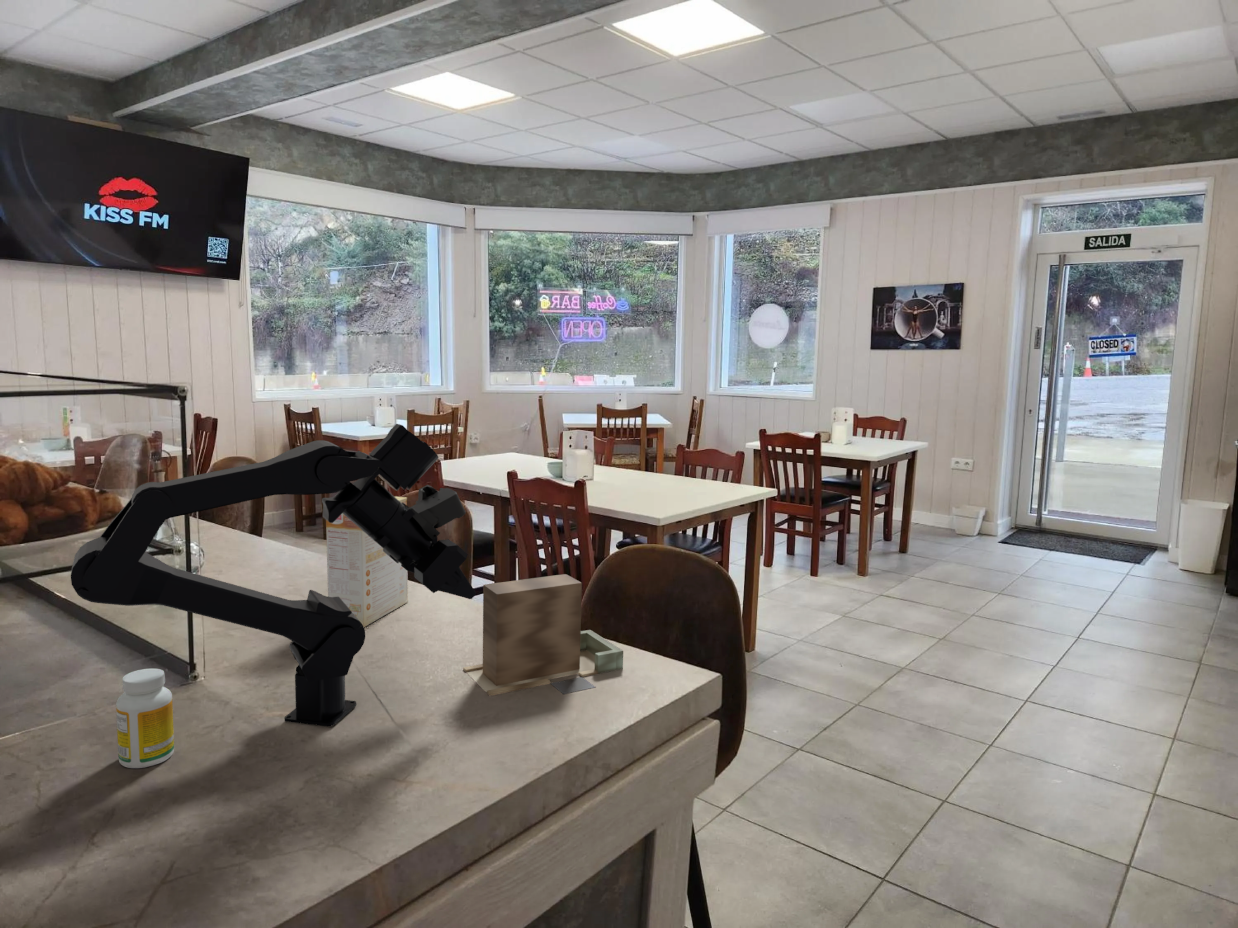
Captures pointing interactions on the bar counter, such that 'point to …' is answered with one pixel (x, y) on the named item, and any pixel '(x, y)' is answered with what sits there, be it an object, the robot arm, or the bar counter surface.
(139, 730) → the supplement bottle
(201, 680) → the bar counter surface
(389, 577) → the coffeecake box
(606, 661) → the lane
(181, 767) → the bar counter surface
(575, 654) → the walnut block
